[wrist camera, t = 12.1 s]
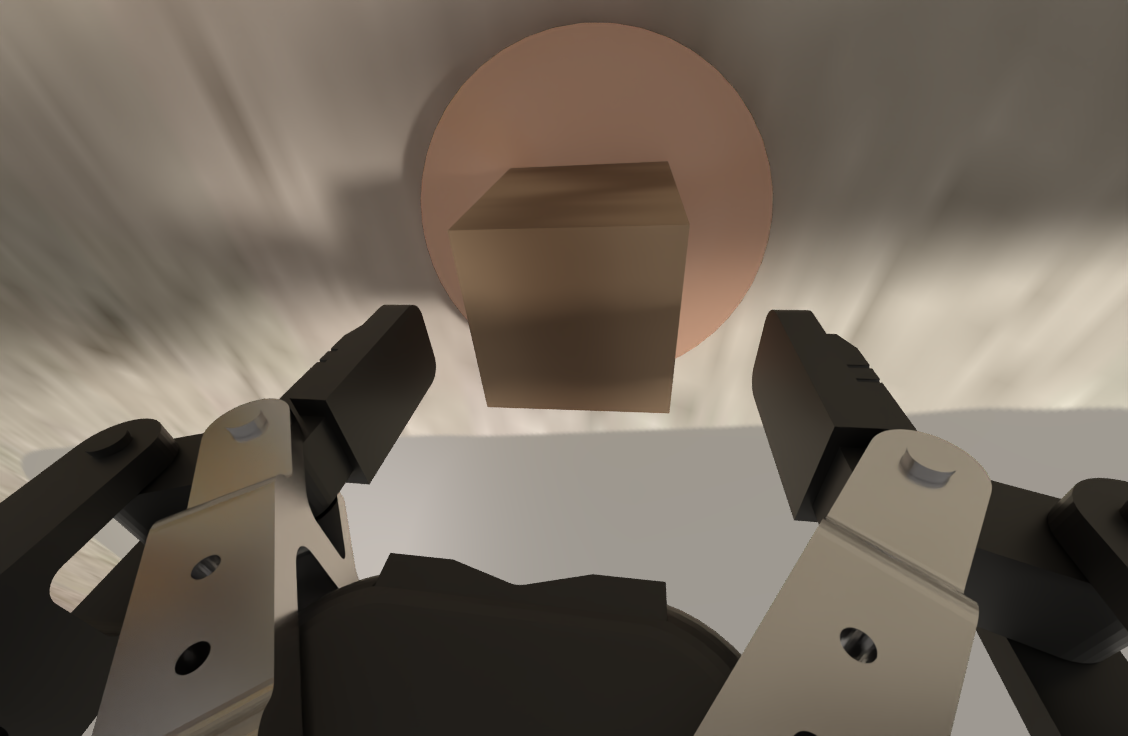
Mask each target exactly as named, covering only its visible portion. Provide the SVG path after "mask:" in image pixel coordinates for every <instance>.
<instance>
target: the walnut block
mask: <svg viewBox="0 0 1128 736" xmlns="http://www.w3.org/2000/svg"><path fill="white" fill-rule="evenodd" d="M689 228H690V224H689V221H688V218H687V215H686V212H685V209H684V206H683V203H682V201H681V198H680V195H679V192H678V189H677V186H676V183H675V180H674V177H673V174H672V172H671V169H670V166H669V163H668V161H661V162H639V163H616V164H593V165H571V166H548V167H525V168H510V169H509V170H508V171H507V172H506V173H505V174H504V175H503V176H502V177H501V178H500V179H499V180H498V181H497V182H496V183H495V184H494V185H493V186H492V187H491V188H490V189H489V190H488V191H487V192H486V193H485V194H484V195H483V196H482V197H481V198H480V199H479V200H478V201H477V202H476V203H475V204H474V205H473V206H472V207H471V208H470V209H469V210H468V211H467V212H466V213H465V214H464V215H463V216H462V217H461V218H460V219H459V220H458V221H457V222H456V223H455V224H454V225H453V226H452V227H451V228H450V229H449V230H448V235H449V239H450V244H451V248H452V253H453V257H454V261H455V266H456V270H457V275H458V279H459V283H460V288H461V292H462V297H463V301H464V305H465V310H466V314H467V319H468V323H469V328H470V332H471V336H472V341H473V345H474V350H475V354H476V358H477V363H478V367H479V372H480V376H481V380H482V385H483V389H484V394H485V398H486V402H487V407H503V408H532V409H561V410H590V411H619V412H648V413H669V410H670V401H671V392H672V383H673V374H674V365H675V355H676V346H677V337H678V328H679V319H680V310H681V301H682V292H683V282H684V273H685V264H686V255H687V246H688V237H689Z"/></svg>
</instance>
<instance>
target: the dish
mask: <svg viewBox="0 0 1128 736" xmlns="http://www.w3.org/2000/svg"><path fill="white" fill-rule="evenodd" d="M661 161H668V163H669V166H670V169H671V172H672V174H673V177H674V180H675V183H676V186H677V189H678V192H679V195H680V198H681V201H682V203H683V206H684V209H685V212H686V215H687V218H688V221H689V224H690V228H689V237H688V246H687V255H686V264H685V273H684V282H683V292H682V301H681V310H680V319H679V328H678V337H677V346H676V355H675V358H677V357H679V356H681V355H683V354H684V353H686V352H688V351H689V350H691V349H692V348H694V347H696V346H697V345H699V344H700V343H701V342H702V341H704V340H705V339H706V338H707V337H709V336H710V335H711V334H712V333H714V332H715V331H716V330H717V329H718V328H719V327H720V326H721V325H722V324H723V323H724V322H725V321H726V320H727V319H728V318H729V316H730V315H731V314H732V312H733V311H734V310H735V309H736V307H737V306H738V305H739V304H740V302H741V301H742V299H743V298H744V296H745V294H746V293H747V291H748V289H749V288H750V286H751V284H752V283H753V281H754V278H755V276H756V274H757V272H758V269H759V267H760V265H761V263H762V260H763V256H764V253H765V250H766V246H767V243H768V240H769V233H770V227H771V221H772V206H773V188H772V180H771V172H770V164H769V161H768V157H767V154H766V150H765V146H764V143H763V139H762V137H761V135H760V132H759V130H758V128H757V126H756V123H755V121H754V119H753V117H752V115H751V113H750V111H749V110H748V108H747V107H746V105H745V104H744V102H743V101H742V99H741V98H740V96H739V94H738V93H737V91H736V90H735V89H734V88H733V87H732V86H731V85H730V84H729V82H728V81H727V80H726V79H725V78H724V77H723V76H722V75H721V74H720V72H719V71H718V70H717V69H715V68H714V67H713V66H712V65H710V64H709V63H708V62H707V61H705V60H704V59H703V58H702V57H700V56H699V55H698V54H697V53H695V52H694V51H692V50H690V49H689V48H687V47H685V46H683V45H681V44H680V43H678V42H676V41H674V40H672V39H671V38H669V37H666V36H663V35H660V34H657V33H654V32H652V31H649V30H646V29H643V28H639V27H634V26H628V25H622V24H616V23H578V24H572V25H566V26H560V27H554V28H551V29H548V30H545V31H542V32H539V33H536V34H534V35H531V36H528V37H526V38H524V39H522V40H520V41H518V42H516V43H514V44H513V45H511V46H509V47H507V48H505V49H503V50H502V51H500V52H499V53H498V54H496V55H495V56H494V57H492V58H491V59H490V60H488V61H487V62H486V63H484V64H483V65H482V66H481V67H479V68H478V70H477V71H476V72H475V73H474V74H473V75H472V76H471V77H470V78H469V79H468V80H467V81H466V82H465V83H464V84H463V85H462V86H461V88H460V89H459V90H458V92H457V93H456V95H455V96H454V97H453V99H452V100H451V102H450V103H449V105H448V106H447V107H446V109H445V111H444V113H443V115H442V117H441V119H440V121H439V123H438V125H437V127H436V129H435V131H434V134H433V137H432V140H431V143H430V146H429V149H428V152H427V155H426V160H425V165H424V170H423V175H422V187H421V213H422V224H423V230H424V235H425V240H426V245H427V248H428V251H429V254H430V257H431V261H432V264H433V266H434V268H435V270H436V273H437V275H438V277H439V279H440V281H441V283H442V285H443V287H444V288H445V290H446V292H447V293H448V295H449V297H450V298H451V300H452V301H453V303H454V304H455V305H456V307H457V308H458V309H459V311H460V312H461V313H462V315H463V316H464V317H465V318H466V319H467V314H466V310H465V305H464V301H463V297H462V292H461V288H460V283H459V279H458V275H457V270H456V266H455V261H454V257H453V253H452V248H451V244H450V239H449V235H448V230H449V229H450V228H451V227H452V226H453V225H454V224H455V223H456V222H457V221H458V220H459V219H460V218H461V217H462V216H463V215H464V214H465V213H466V212H467V211H468V210H469V209H470V208H471V207H472V206H473V205H474V204H475V203H476V202H477V201H478V200H479V199H480V198H481V197H482V196H483V195H484V194H485V193H486V192H487V191H488V190H489V189H490V188H491V187H492V186H493V185H494V184H495V183H496V182H497V181H498V180H499V179H500V178H501V177H502V176H503V175H504V174H505V173H506V172H507V171H508V170H509V169H510V168H525V167H548V166H571V165H593V164H616V163H639V162H661ZM467 320H468V319H467Z"/></svg>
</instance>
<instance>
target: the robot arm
mask: <svg viewBox="0 0 1128 736" xmlns="http://www.w3.org/2000/svg"><path fill="white" fill-rule="evenodd" d="M435 372H436V362H435V357H434V353H433V350H432V347H431V343H430V340H429V336H428V333H427V330H426V326H425V323H424V320H423V316H422V313H421V311H420V310H419V308H418V307H417V306H415V305H383V306H381V307H380V308H379V309H378V310H377V311H376V312H375V313H374V314H373V315H372V316H371V317H370V318H369V319H368V320H367V321H366V322H365V323H364V324H363V325H362V326H360V327H358V328H356V329H355V330H353V331H351V332H350V333H348V334H346V335H344V336H343V337H342V338H341V339H340V340H339V341H338V342H337V343H336V344H335V345H334V346H333V347H332V348H331V351H328V352H327V353H326V354H325V355H324V356H323V357H322V358H321V359H320V362H317V363H316V364H315V365H314V366H313V367H312V368H310V369H309V370H308V371H307V372H306V373H305V374H304V375H303V376H302V377H301V378H300V379H299V380H298V381H297V382H296V383H295V384H294V385H293V386H292V387H291V388H290V389H289V390H288V391H287V392H286V393H285V394H284V395H283V396H282V397H281V398H280V399H270V398H269V399H261V400H256V401H252V402H249V403H246V404H243V405H240V406H238V407H236V408H234V409H232V410H230V411H228V412H227V413H225V414H223V415H222V416H220V417H219V418H218V419H216V420H215V421H214V422H213V423H212V424H211V425H210V426H209V427H208V428H207V429H206V431H205V432H204V433H203V434H197V435H191V436H186V437H180V438H174V439H173V437H172V436H171V435H170V434H169V433H168V432H167V430H166V429H165V428H164V427H163V426H162V425H161V423H160V422H158V421H157V420H154V419H137V420H132V421H127V422H124V423H121V424H118V425H115V426H112V427H110V428H107V429H105V430H103V431H101V432H99V433H97V434H95V435H93V436H91V437H90V438H88V439H86V440H85V441H83V442H82V443H80V444H79V445H77V446H76V447H75V448H73V449H72V450H71V451H69V452H68V453H67V454H65V455H64V456H63V457H62V458H60V459H59V460H58V461H56V462H55V463H53V464H52V465H51V466H50V467H48V468H47V469H45V470H44V471H43V472H41V473H40V474H39V475H37V476H36V477H35V478H33V479H32V480H31V481H29V482H28V483H27V484H25V485H24V486H23V487H21V488H20V489H18V490H17V491H16V492H14V493H13V494H12V495H10V496H9V497H8V498H6V499H5V500H4V501H2V502H1V503H0V736H82V734H83V733H84V732H85V731H86V729H87V728H88V727H89V725H90V724H91V723H92V721H93V720H94V719H95V717H96V716H97V719H96V722H95V726H94V729H93V733H92V736H950V735H951V731H952V727H953V722H954V718H955V714H956V710H957V706H958V702H959V698H960V693H961V690H962V685H963V681H964V677H965V673H966V669H967V665H968V661H969V656H970V652H971V648H972V644H973V640H974V636H975V631H977V633H978V635H979V637H980V639H981V640H982V642H983V645H984V646H985V648H986V650H987V652H988V654H989V656H990V658H991V660H992V662H993V664H994V666H995V668H996V670H997V672H998V673H999V675H1000V677H1001V679H1002V681H1003V683H1004V685H1005V687H1006V689H1007V691H1008V693H1009V695H1010V697H1011V699H1012V700H1013V702H1014V704H1015V706H1016V708H1017V710H1018V712H1019V714H1020V716H1021V718H1022V720H1023V722H1024V724H1025V725H1026V728H1027V730H1028V731H1029V733H1030V735H1031V736H1128V661H1127V660H1126V658H1125V657H1124V656H1123V654H1122V653H1121V652H1120V650H1122V649H1123V648H1125V647H1127V646H1128V482H1126V481H1121V480H1115V479H1108V478H1092V479H1086V480H1083V481H1080V482H1079V483H1077V484H1076V485H1075V486H1074V487H1073V488H1072V489H1071V490H1070V491H1069V492H1068V493H1067V494H1066V495H1065V496H1064V497H1063V498H1062V499H1059V498H1055V497H1052V496H1048V495H1044V494H1040V493H1037V492H1032V491H1029V490H1025V489H1021V488H1017V487H1014V486H1010V485H1006V484H1003V483H999V482H995V481H992V480H990V478H989V476H988V474H987V472H986V471H985V469H984V468H983V467H982V466H981V465H980V464H979V463H978V462H977V461H976V460H975V459H974V458H973V457H972V456H970V455H969V454H968V453H967V452H965V451H964V450H962V449H960V448H959V447H957V446H955V445H954V444H952V443H950V442H948V441H945V440H943V439H941V438H939V437H936V436H933V435H930V434H927V433H923V432H919V431H917V430H916V429H915V427H914V426H913V424H912V423H911V422H910V420H909V419H908V418H907V416H906V415H905V413H904V412H903V411H902V409H901V408H900V406H899V405H898V404H897V402H896V401H895V400H894V398H893V397H892V395H891V394H890V393H889V391H888V390H887V389H886V387H885V386H884V384H883V383H880V382H879V380H880V379H879V377H878V376H877V375H876V373H875V372H874V371H873V369H872V368H869V364H868V362H867V361H866V360H865V358H864V357H863V355H862V354H861V353H860V351H859V350H858V348H856V347H855V346H853V345H852V344H850V343H849V342H847V341H846V340H844V339H843V338H841V337H840V336H838V335H837V334H826V332H825V331H824V329H823V328H822V326H821V325H820V323H819V322H818V320H817V319H816V317H815V316H814V314H813V313H812V312H811V311H809V310H771V311H770V312H769V313H768V315H767V317H766V320H765V324H764V328H763V332H762V336H761V340H760V344H759V348H758V352H757V356H756V360H755V364H754V368H753V375H752V390H753V396H754V399H755V402H756V405H757V408H758V411H759V414H760V417H761V420H762V423H763V427H764V430H765V433H766V436H767V438H768V442H769V445H770V448H771V451H772V454H773V457H774V460H775V463H776V466H777V469H778V472H779V475H780V478H781V482H782V485H783V488H784V490H785V494H786V497H787V500H788V503H789V506H790V509H791V512H792V515H793V518H794V520H798V521H810V522H818V523H819V526H818V527H817V529H816V531H815V532H814V534H813V536H812V537H811V539H810V541H809V543H808V544H807V546H806V548H805V549H804V551H803V553H802V554H801V556H800V558H799V559H798V561H797V563H796V565H795V566H794V568H793V570H792V571H791V573H790V575H789V576H788V578H787V580H786V581H785V583H784V585H783V586H782V588H781V590H780V591H779V593H778V595H777V596H776V598H775V600H774V602H773V603H772V605H771V606H770V608H769V610H768V612H767V613H766V615H765V616H764V618H763V620H762V622H761V623H760V625H759V627H758V628H757V630H756V632H755V633H754V635H753V637H752V638H751V640H750V642H749V643H748V645H747V647H746V649H745V650H744V652H743V654H742V655H741V654H740V653H739V652H738V651H737V650H736V649H735V648H734V647H733V646H732V645H731V644H730V643H729V642H727V641H726V640H725V639H724V638H723V637H722V636H720V635H719V634H718V633H717V632H716V631H714V630H713V629H711V628H710V627H708V626H707V625H705V624H704V623H702V622H701V621H700V620H698V619H696V618H694V617H692V616H691V615H689V614H687V613H685V612H683V611H681V610H679V609H676V608H674V607H671V606H669V605H667V601H666V583H665V582H660V581H651V580H641V579H632V578H622V577H612V576H603V575H594V574H592V575H586V576H579V577H572V578H566V579H559V580H553V581H546V582H540V583H533V584H527V585H514V584H511V583H508V582H506V581H504V580H501V579H499V578H496V577H494V576H491V575H489V574H487V573H484V572H482V571H479V570H477V569H474V568H472V567H470V566H467V565H465V564H462V563H460V562H458V561H455V560H451V559H443V558H433V557H424V556H414V555H405V554H395V553H390V555H389V557H388V559H387V561H386V563H385V565H384V567H383V569H382V571H381V573H380V575H377V576H373V577H369V578H365V579H362V580H359V579H358V576H357V572H356V568H355V563H354V557H353V551H352V544H351V538H350V532H349V525H348V519H347V513H346V506H345V501H344V498H343V496H342V495H341V493H340V490H341V489H342V487H343V486H344V484H345V483H360V484H370V483H371V481H372V479H373V478H374V476H375V474H376V473H377V471H378V469H379V468H380V466H381V465H382V463H383V462H384V460H385V458H386V457H387V455H388V453H389V452H390V450H391V449H392V447H393V445H394V444H395V442H396V441H397V439H398V437H399V436H400V434H401V432H402V431H403V429H404V428H405V426H406V424H407V423H408V421H409V420H410V418H411V416H412V415H413V413H414V411H415V410H416V408H417V407H418V405H419V403H420V402H421V400H422V399H423V397H424V395H425V394H426V392H427V390H428V389H429V387H430V386H431V384H432V382H433V380H434V377H435ZM112 518H114V519H115V520H117V521H118V522H119V523H120V524H121V525H122V526H124V527H125V528H126V529H127V530H128V531H129V532H130V533H132V534H133V535H134V536H135V537H136V538H137V539H139V540H140V541H139V542H138V543H137V544H136V545H135V546H134V547H133V548H132V549H131V550H130V552H129V553H128V554H127V555H126V556H125V557H124V558H123V559H122V560H121V561H120V562H119V563H118V564H117V565H116V566H115V567H114V568H113V569H112V570H111V571H110V573H109V574H108V575H107V576H106V577H105V578H104V579H103V580H102V581H101V582H100V583H99V584H98V585H97V586H96V587H95V588H94V589H93V590H92V591H91V592H90V594H89V595H88V596H87V597H86V598H85V599H84V600H83V601H82V602H81V603H80V604H79V605H78V606H77V607H76V608H75V609H74V610H73V611H72V612H71V613H70V612H68V611H66V610H65V609H63V608H62V607H60V606H58V605H57V604H55V603H54V602H53V601H52V599H51V597H50V591H49V589H50V584H51V582H52V579H53V577H54V576H55V574H56V573H57V571H58V570H59V569H60V568H61V567H62V566H63V565H64V564H65V563H66V562H67V561H68V560H69V559H70V558H71V557H72V556H73V555H74V554H75V553H77V552H78V551H79V550H80V549H81V548H82V547H83V546H84V545H85V544H86V543H87V542H88V541H89V540H90V539H91V538H92V537H93V536H94V535H95V534H97V533H98V532H99V531H100V530H101V529H102V528H103V527H104V526H105V525H106V524H107V523H108V522H109V521H110V520H111V519H112Z"/></svg>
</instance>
